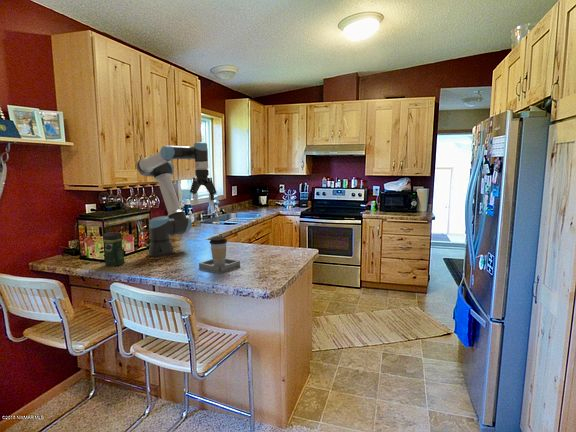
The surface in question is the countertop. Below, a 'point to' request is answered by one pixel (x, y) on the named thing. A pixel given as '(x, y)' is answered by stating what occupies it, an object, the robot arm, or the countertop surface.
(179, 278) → the countertop surface
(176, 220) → the robot arm
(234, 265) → the tray
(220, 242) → the coffee cup
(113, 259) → the coffee jar
